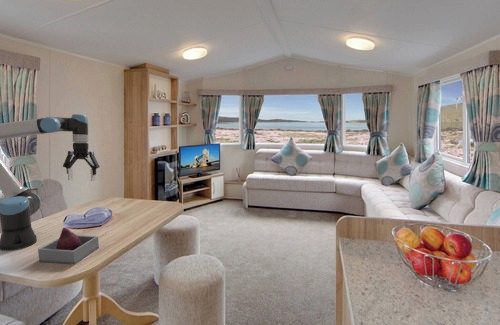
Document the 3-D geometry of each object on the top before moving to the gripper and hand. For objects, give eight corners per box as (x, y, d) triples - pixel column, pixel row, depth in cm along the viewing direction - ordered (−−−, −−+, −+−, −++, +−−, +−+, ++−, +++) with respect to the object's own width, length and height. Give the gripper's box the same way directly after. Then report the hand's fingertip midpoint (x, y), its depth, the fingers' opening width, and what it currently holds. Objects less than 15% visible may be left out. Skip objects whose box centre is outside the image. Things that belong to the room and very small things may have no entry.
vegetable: (71, 264, 131) (66, 237, 125) (52, 259, 133) (45, 232, 127) (88, 249, 141) (84, 224, 135) (69, 244, 142) (64, 219, 136)
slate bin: (39, 262, 129) (38, 249, 128) (67, 245, 146) (66, 234, 145) (74, 264, 127) (73, 251, 126) (98, 247, 144) (98, 236, 143)
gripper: (105, 142, 164) (106, 180, 166) (64, 141, 166) (65, 178, 168) (97, 143, 156) (98, 182, 158) (54, 142, 159) (55, 180, 160)
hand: (81, 180), depth 163 cm, fingers open, 13 cm apart
